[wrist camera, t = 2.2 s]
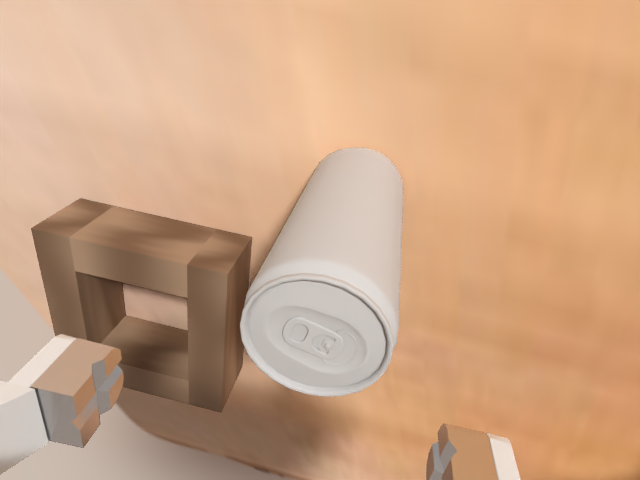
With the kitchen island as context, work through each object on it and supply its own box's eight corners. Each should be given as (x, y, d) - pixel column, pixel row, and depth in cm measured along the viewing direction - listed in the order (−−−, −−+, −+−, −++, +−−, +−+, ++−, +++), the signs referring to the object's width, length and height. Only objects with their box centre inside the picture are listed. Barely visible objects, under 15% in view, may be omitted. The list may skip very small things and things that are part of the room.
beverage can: (378, 240, 24) (355, 420, 14) (300, 205, 24) (217, 361, 14) (420, 166, 22) (430, 318, 11) (333, 126, 22) (262, 244, 11)
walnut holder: (252, 237, 26) (227, 274, 22) (242, 366, 31) (221, 412, 28) (80, 198, 26) (31, 228, 23) (100, 331, 32) (63, 371, 29)
